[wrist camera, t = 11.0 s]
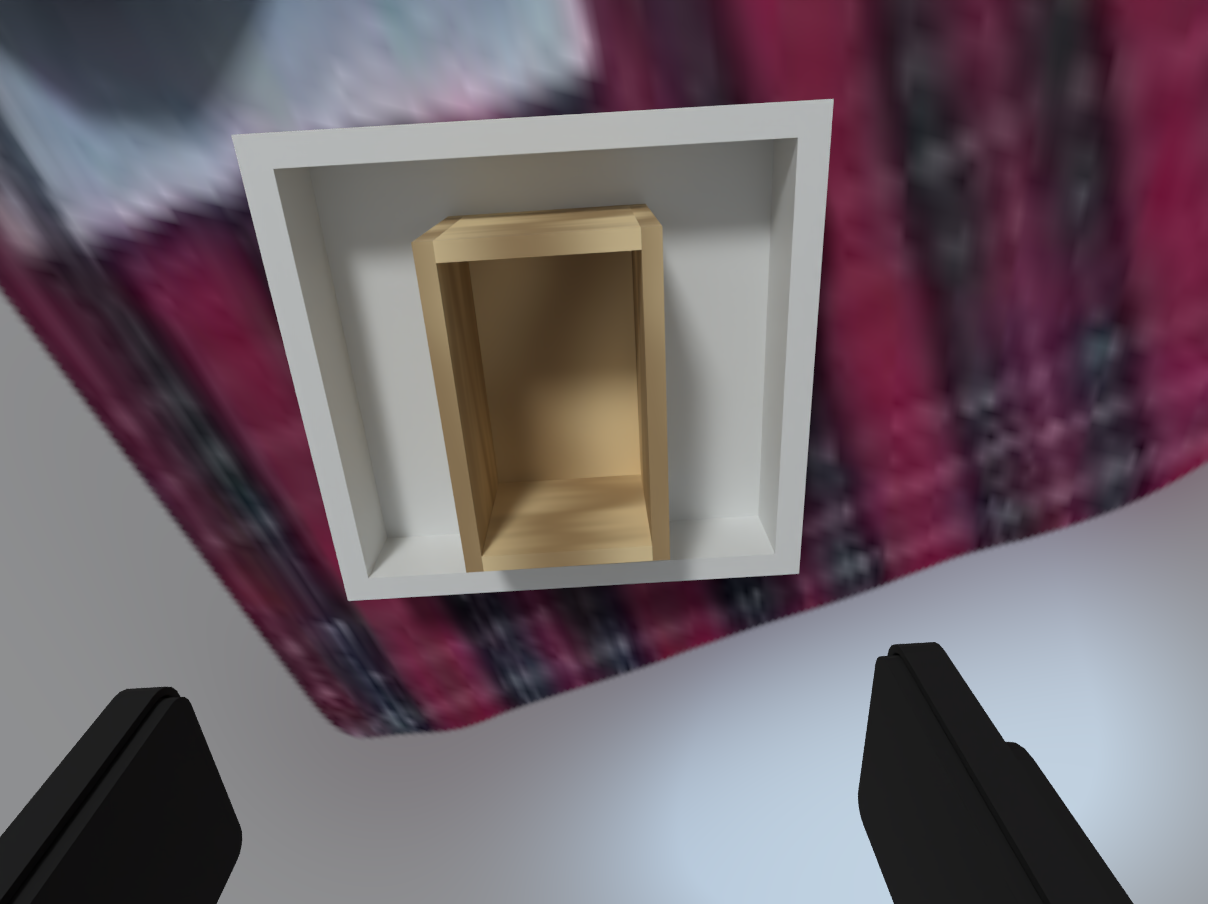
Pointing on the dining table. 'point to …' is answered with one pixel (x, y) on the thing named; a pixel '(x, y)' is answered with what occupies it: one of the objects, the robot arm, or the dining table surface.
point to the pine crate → (551, 383)
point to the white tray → (546, 182)
